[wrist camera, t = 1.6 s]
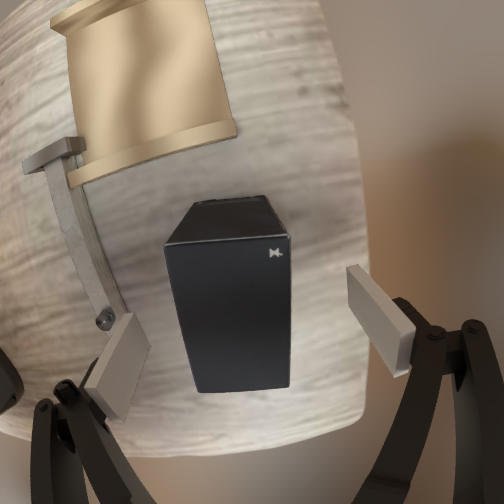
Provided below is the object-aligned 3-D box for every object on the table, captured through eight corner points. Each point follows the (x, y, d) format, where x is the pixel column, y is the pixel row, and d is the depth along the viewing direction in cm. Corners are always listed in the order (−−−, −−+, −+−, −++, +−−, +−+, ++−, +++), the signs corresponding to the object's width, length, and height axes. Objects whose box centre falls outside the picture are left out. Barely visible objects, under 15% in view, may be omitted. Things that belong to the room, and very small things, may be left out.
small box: (187, 201, 22) (155, 241, 13) (267, 194, 23) (296, 228, 13) (204, 313, 26) (193, 397, 16) (273, 307, 26) (294, 389, 16)
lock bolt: (115, 322, 26) (104, 342, 23) (55, 150, 19) (34, 152, 16) (131, 320, 26) (121, 340, 23) (71, 141, 19) (51, 142, 16)
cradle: (53, 198, 21) (31, 206, 18) (32, 51, 15) (12, 44, 12) (236, 137, 21) (237, 134, 17) (198, -20, 15) (194, -41, 12)
